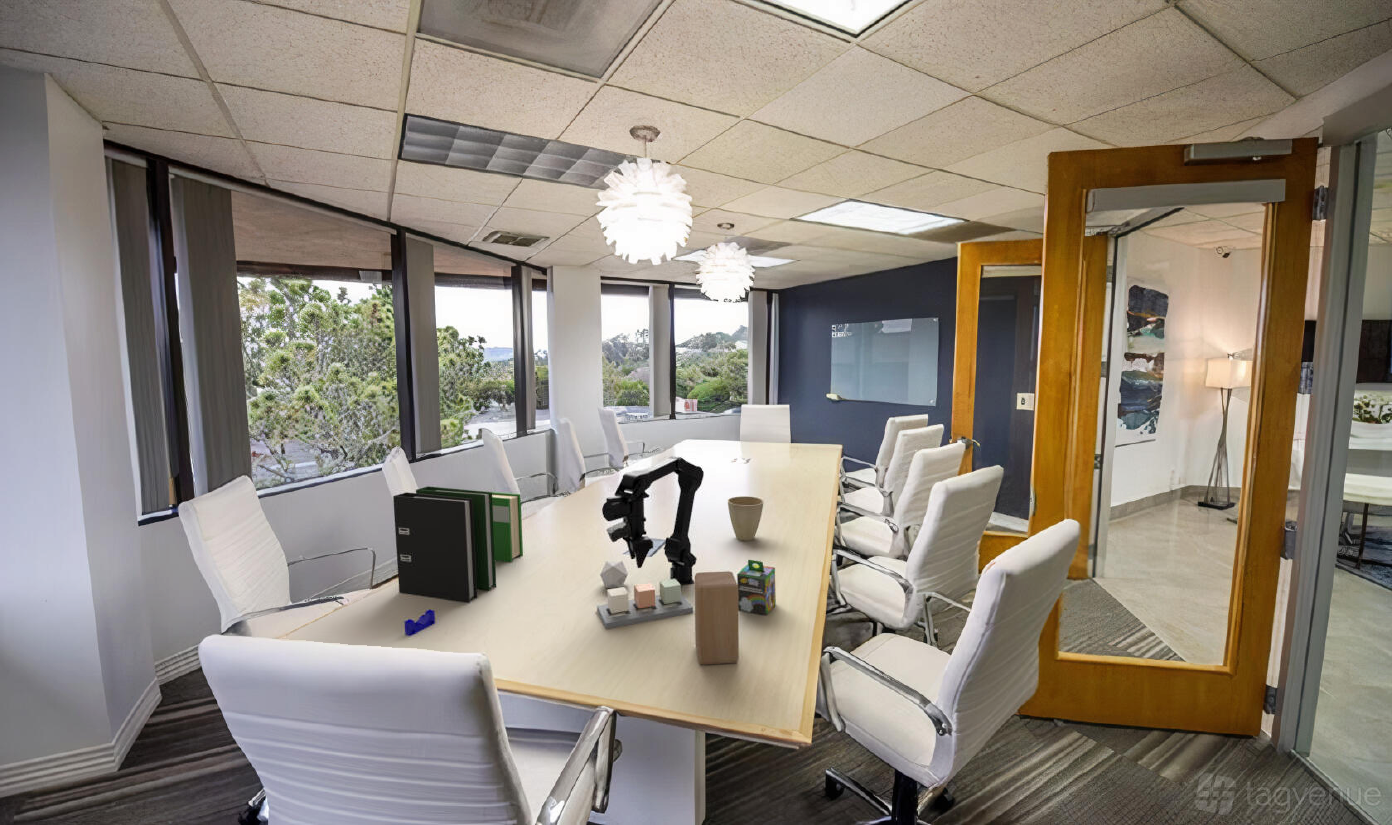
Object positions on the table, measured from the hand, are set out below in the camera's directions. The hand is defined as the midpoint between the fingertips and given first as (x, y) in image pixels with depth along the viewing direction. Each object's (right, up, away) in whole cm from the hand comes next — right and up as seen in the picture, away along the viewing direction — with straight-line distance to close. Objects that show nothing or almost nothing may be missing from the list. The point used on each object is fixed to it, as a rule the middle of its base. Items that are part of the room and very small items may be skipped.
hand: (636, 563), depth 170 cm
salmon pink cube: (+3, -10, -7) cm, 13 cm away
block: (+24, -15, -31) cm, 41 cm away
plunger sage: (+11, -10, -4) cm, 15 cm away
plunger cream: (-4, -10, -10) cm, 15 cm away
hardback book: (-58, -9, +41) cm, 71 cm away
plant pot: (+39, -6, +60) cm, 72 cm away
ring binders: (-63, -12, +10) cm, 65 cm away
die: (-9, -11, +12) cm, 19 cm away
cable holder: (-59, -14, -15) cm, 63 cm away
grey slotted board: (+3, -13, -6) cm, 15 cm away
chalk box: (+37, -12, -4) cm, 39 cm away
